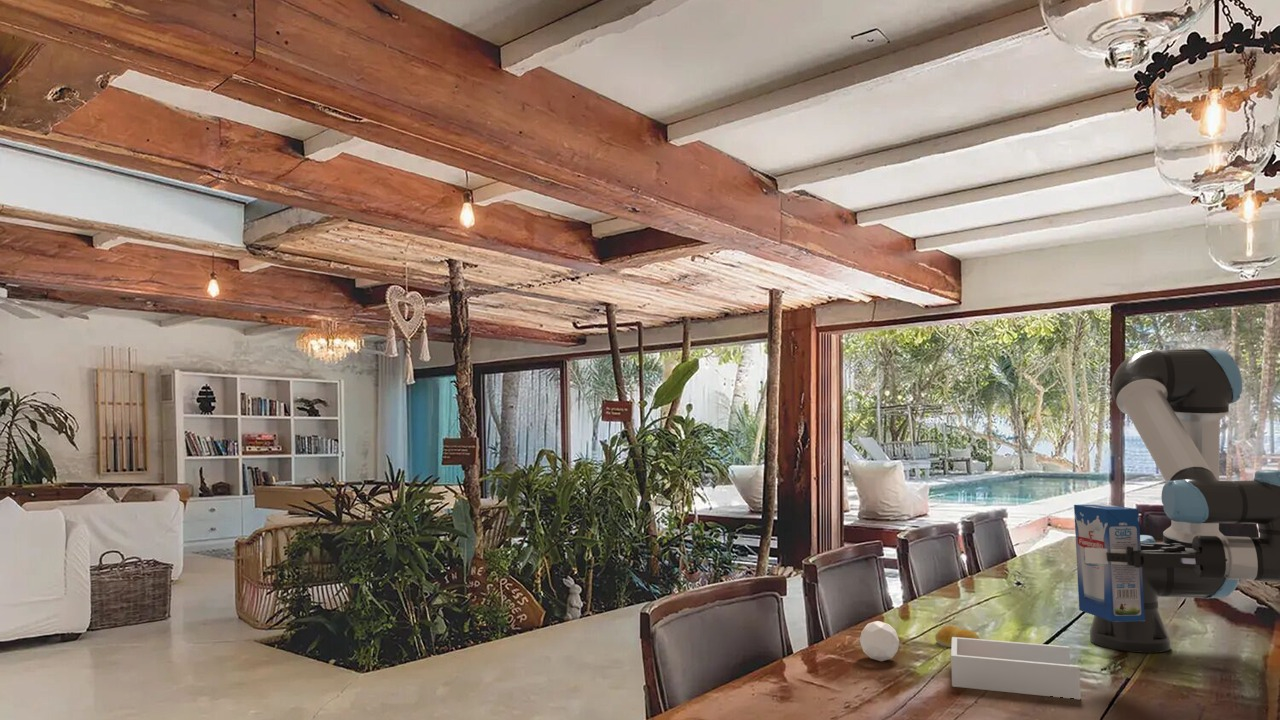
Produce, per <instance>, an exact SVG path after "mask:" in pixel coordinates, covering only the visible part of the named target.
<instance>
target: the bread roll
mask: <svg viewBox="0 0 1280 720" xmlns="http://www.w3.org/2000/svg"><path fill="white" fill-rule="evenodd" d="M934 637H935V641H936V643H937V644H938V645H940V646H942V647H945V648H951V645H952V637H960V638H972V639H980V637H979V635H978V634H977V633H976V632H975V631H972V630H968V629H960V628H959V627H957V626H954V625H946V626H944V627H942V628H940V629H939V630H938V631H937V633H935V635H934Z"/></svg>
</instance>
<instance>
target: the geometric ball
mask: <svg viewBox="0 0 1280 720" xmlns="http://www.w3.org/2000/svg"><path fill="white" fill-rule="evenodd" d="M859 643H860V646H861V648H862V651H863V653H865V655H867V656H868V657H869V659H872V660H874V661H879V662H884V661H889V660H891V659H892V658H894V656H895V655H896V654H897V652H898V651H899V646H900V640H899V636H898V633H897V631H896V629H895V628H894V627H892V626H891V624H889V623H886V622H884V621H880V620H876V621H872V622H869V623H867V624H866V625H865V626H864V628H863V629H862V631H861V633H860V637H859Z"/></svg>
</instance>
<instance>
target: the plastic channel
mask: <svg viewBox="0 0 1280 720" xmlns="http://www.w3.org/2000/svg"><path fill="white" fill-rule="evenodd" d="M950 650H951V651H950V662H951V663H950V664H951V665H950V667H951V687H954V688H955V687H956V688H966V689H974V690H983V691H984V690H985V691H994V692H1003V693H1004V692H1005V693H1013V694H1020V695H1021V694H1023V695H1033V696H1042V697H1050V696H1053V697H1052V698H1060V697H1063V698H1062V699H1070V698H1074V699H1073V700H1080V699H1081V700H1082V698H1081V697H1082V696H1081V675H1080V674H1081V673H1080V665H1078V664H1077V665H1075V664H1071V655H1070V654H1071V653H1070V650H1071V649H1070V646H1069V645H1068V646H1067V645H1058V644H1057V645H1056V644H1055V645H1054V644H1045V643H1044V644H1042V643H1031V642H1030V643H1029V642H1018V641H1009V640H1007V641H1006V640H995V639H982V638H979V639H972V638H960V637H952V645H951V647H950Z"/></svg>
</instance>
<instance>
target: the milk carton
mask: <svg viewBox="0 0 1280 720" xmlns="http://www.w3.org/2000/svg"><path fill="white" fill-rule="evenodd" d="M1073 509H1074V510H1073V511H1074V513H1073V514H1074V530H1075V532H1074V533H1075V549H1076V553H1075V554H1076V568H1077V571H1076V572H1077V589H1078V609H1079V611H1081V612H1082V613H1083V612H1084V613H1087V614H1089V615H1093V616H1094V615H1095V616H1097V617H1100V618H1103V619H1106V620H1109V621H1111V622H1122V621H1145V614H1144V596H1143V578H1142V567H1140V568H1137V567H1134V566H1130V565H1128V562H1127V565H1117V564H1111V561H1108V564H1097V563H1086V561H1085V547H1086V548H1105V549H1107V553H1111V549H1126V553H1127V547H1133V551H1138V550H1141V543H1140V535H1141V531H1140V530H1141V529H1140V528H1141V527H1140V514H1139V513H1140V511H1139V510H1140V508H1133V507H1128V506H1127V507H1125V506H1119V505H1118V506H1117V505H1113V504H1112V505H1111V504H1101V503H1100V504H1073Z"/></svg>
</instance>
